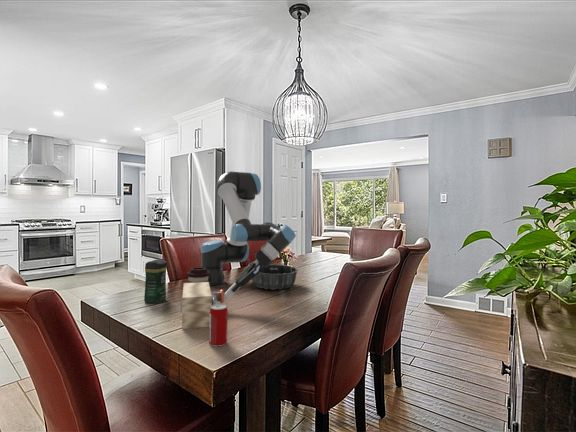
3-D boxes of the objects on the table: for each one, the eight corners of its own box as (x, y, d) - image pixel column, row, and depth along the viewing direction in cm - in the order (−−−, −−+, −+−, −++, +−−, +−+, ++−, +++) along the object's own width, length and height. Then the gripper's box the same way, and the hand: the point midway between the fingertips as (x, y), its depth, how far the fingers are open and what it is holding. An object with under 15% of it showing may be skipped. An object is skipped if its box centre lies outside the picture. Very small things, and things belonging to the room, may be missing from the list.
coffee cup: (182, 301, 142) (182, 268, 142) (201, 297, 150) (202, 265, 149) (193, 306, 136) (194, 271, 135) (213, 301, 143) (214, 268, 142)
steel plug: (214, 310, 122) (214, 295, 121) (215, 314, 116) (215, 299, 116) (180, 312, 118) (181, 297, 118) (180, 317, 113) (180, 301, 113)
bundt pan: (307, 287, 174) (308, 269, 173) (272, 296, 155) (272, 275, 155) (275, 279, 192) (275, 262, 192) (239, 285, 173) (240, 267, 173)
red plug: (222, 301, 133) (222, 287, 133) (223, 305, 128) (224, 291, 128) (192, 303, 130) (192, 289, 130) (192, 307, 124) (192, 293, 124)
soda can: (229, 344, 99) (230, 306, 98) (213, 348, 96) (213, 309, 95) (222, 338, 103) (223, 301, 103) (206, 342, 100) (206, 304, 100)
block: (208, 307, 134) (208, 281, 134) (211, 326, 113) (211, 295, 113) (183, 309, 131) (183, 283, 131) (182, 329, 110) (182, 297, 110)
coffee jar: (158, 304, 137) (159, 261, 137) (141, 303, 138) (141, 261, 138) (169, 298, 147) (169, 258, 147) (152, 297, 148) (153, 257, 147)
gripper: (276, 263, 130) (234, 307, 125) (268, 258, 142) (230, 298, 138) (263, 251, 128) (221, 294, 124) (257, 247, 141) (218, 286, 136)
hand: (226, 296), depth 131 cm, fingers closed
